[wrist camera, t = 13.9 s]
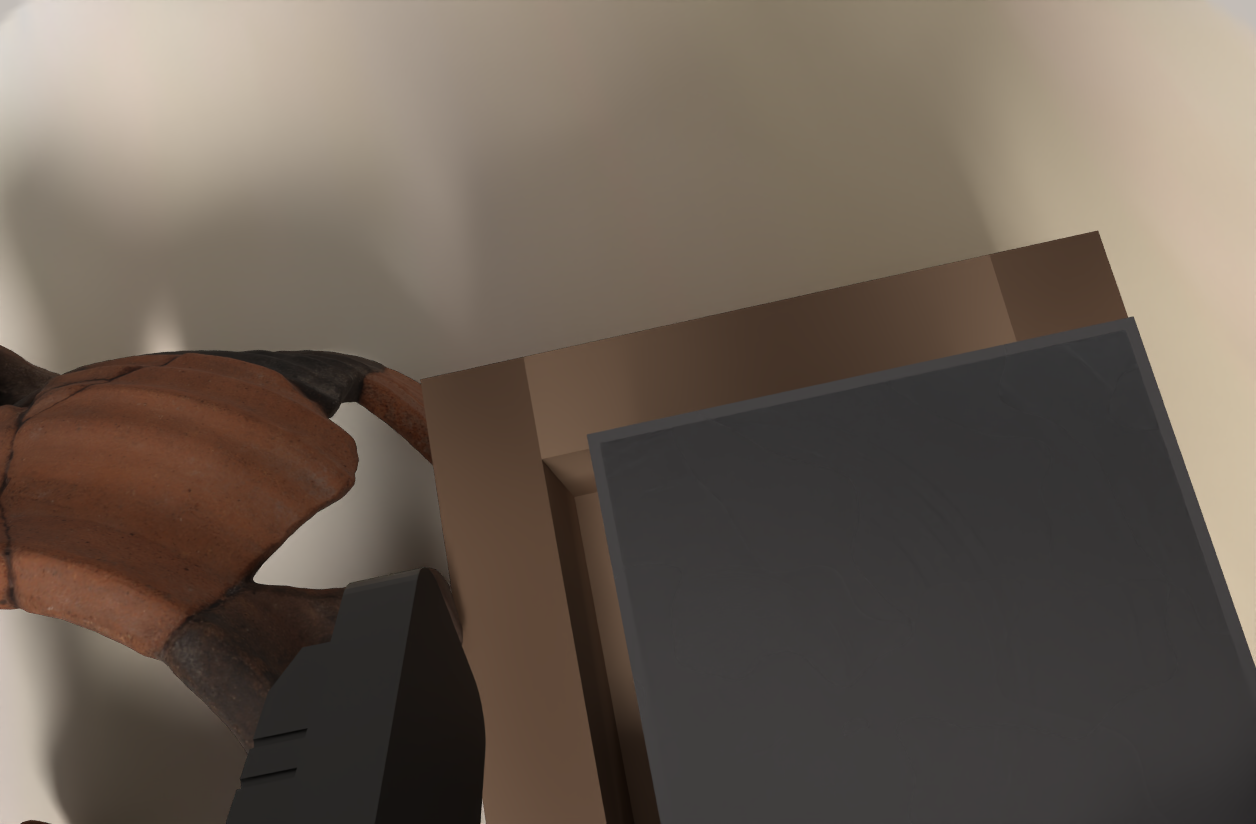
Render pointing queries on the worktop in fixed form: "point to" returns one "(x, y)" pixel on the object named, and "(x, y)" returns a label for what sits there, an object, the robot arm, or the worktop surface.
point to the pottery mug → (185, 503)
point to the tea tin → (932, 599)
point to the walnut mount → (570, 510)
